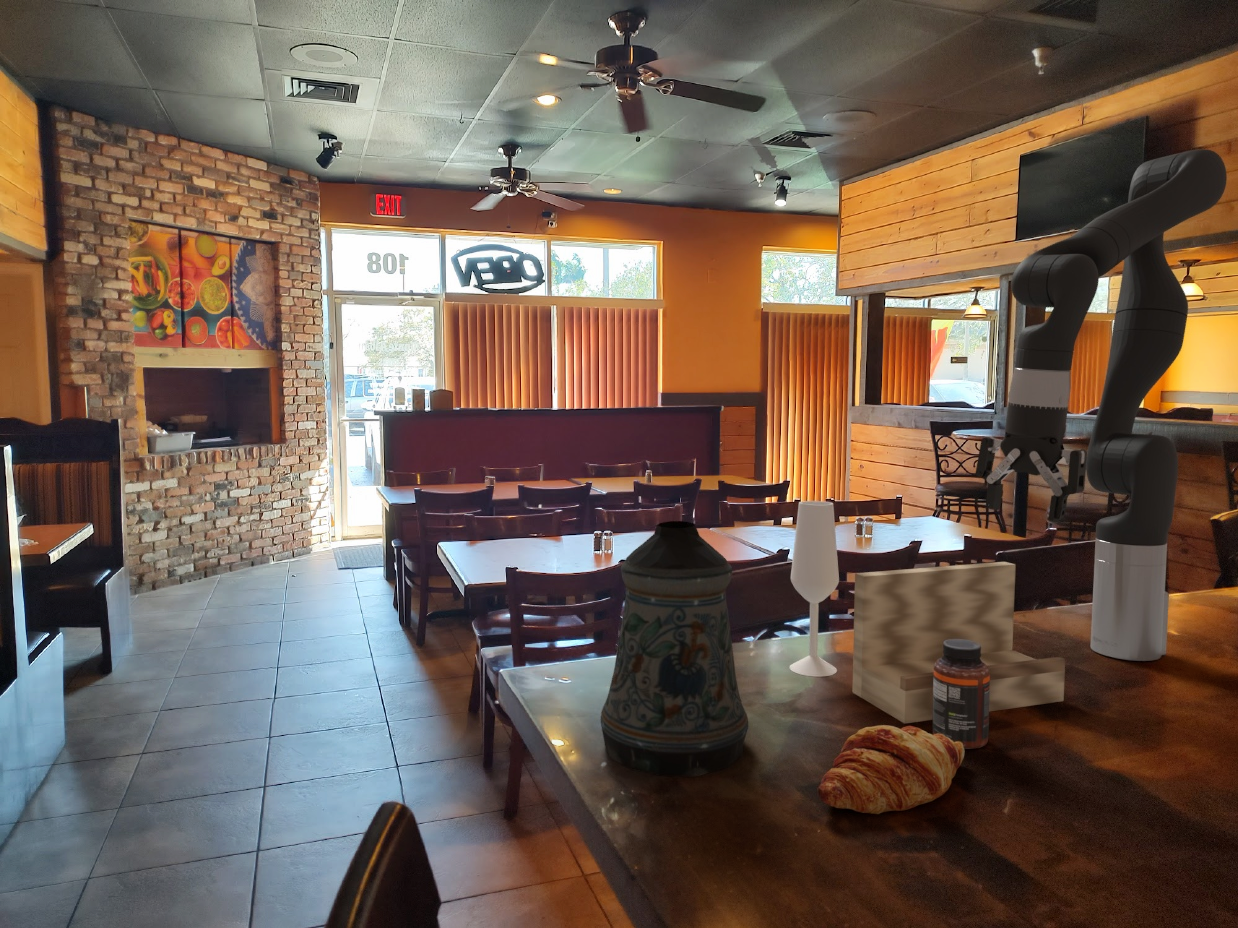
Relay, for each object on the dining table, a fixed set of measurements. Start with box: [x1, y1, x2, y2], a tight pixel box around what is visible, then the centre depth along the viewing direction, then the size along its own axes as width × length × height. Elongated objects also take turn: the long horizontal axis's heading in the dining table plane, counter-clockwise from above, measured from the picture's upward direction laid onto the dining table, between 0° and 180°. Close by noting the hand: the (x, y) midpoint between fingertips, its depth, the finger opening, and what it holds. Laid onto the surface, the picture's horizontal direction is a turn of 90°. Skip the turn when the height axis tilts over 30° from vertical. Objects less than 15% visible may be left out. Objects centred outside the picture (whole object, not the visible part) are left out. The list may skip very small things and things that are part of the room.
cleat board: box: [852, 561, 1066, 724], centre depth 108 cm, size 24×11×16 cm, turn 108°
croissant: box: [816, 724, 965, 815], centre depth 84 cm, size 21×10×8 cm, turn 125°
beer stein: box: [600, 520, 750, 777], centre depth 95 cm, size 16×19×25 cm
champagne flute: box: [789, 500, 840, 677], centre depth 119 cm, size 7×7×24 cm
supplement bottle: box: [932, 639, 990, 750], centre depth 95 cm, size 6×6×11 cm
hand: (1023, 515), depth 119 cm, fingers open, 8 cm apart
